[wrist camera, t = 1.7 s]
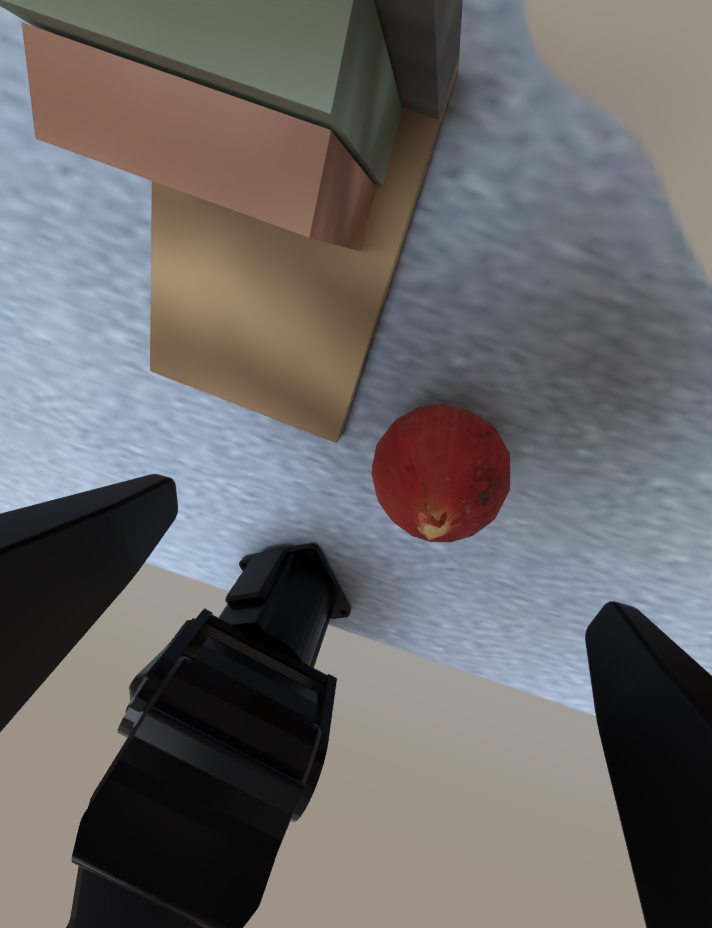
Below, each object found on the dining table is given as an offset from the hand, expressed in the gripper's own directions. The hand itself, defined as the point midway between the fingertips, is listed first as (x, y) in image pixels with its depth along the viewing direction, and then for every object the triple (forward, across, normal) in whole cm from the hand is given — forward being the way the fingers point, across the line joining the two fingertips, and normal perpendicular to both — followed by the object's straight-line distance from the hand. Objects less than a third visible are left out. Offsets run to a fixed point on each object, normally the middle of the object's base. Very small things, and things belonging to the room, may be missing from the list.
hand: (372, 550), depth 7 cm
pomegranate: (+12, -2, +2) cm, 13 cm away
